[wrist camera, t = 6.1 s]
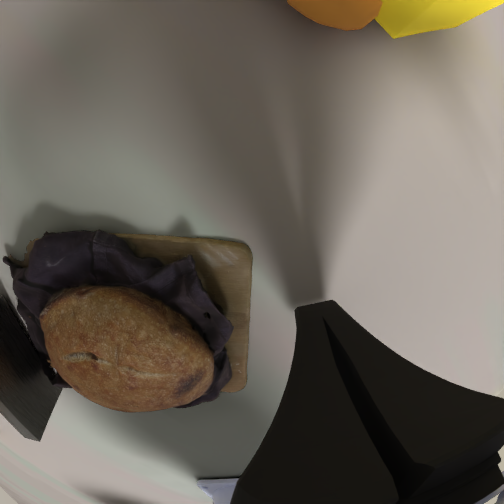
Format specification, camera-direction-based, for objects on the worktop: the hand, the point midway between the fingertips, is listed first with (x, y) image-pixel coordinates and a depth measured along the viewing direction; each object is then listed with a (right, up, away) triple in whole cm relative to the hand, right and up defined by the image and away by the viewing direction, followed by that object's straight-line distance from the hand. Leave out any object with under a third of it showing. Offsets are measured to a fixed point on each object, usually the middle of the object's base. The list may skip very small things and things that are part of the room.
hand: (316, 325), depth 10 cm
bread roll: (-8, 0, +2) cm, 8 cm away
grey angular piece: (-18, -3, +1) cm, 18 cm away
